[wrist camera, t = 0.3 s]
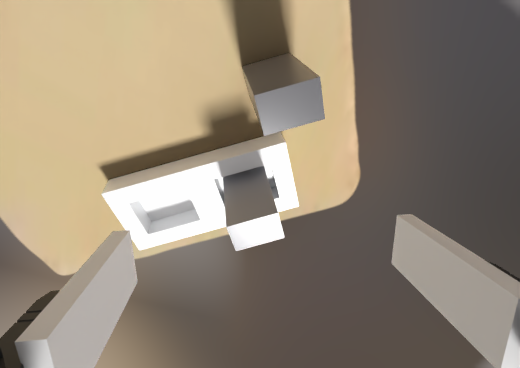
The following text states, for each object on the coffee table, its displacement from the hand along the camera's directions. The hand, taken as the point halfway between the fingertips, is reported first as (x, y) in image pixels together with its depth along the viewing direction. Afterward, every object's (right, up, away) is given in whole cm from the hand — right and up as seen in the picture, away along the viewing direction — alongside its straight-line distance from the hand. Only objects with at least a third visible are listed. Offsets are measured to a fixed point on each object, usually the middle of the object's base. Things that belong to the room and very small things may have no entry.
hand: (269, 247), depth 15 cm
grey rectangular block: (+1, +17, +23) cm, 28 cm away
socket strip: (-8, +3, +30) cm, 31 cm away
